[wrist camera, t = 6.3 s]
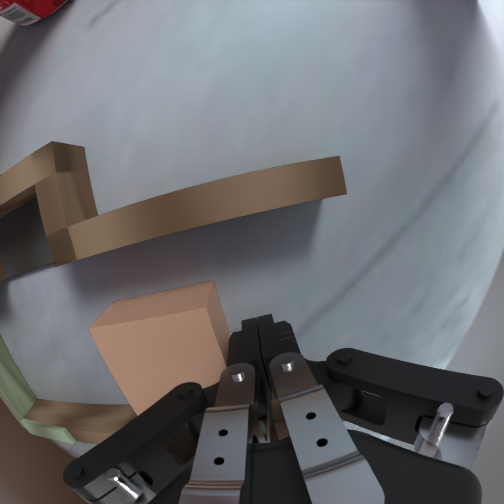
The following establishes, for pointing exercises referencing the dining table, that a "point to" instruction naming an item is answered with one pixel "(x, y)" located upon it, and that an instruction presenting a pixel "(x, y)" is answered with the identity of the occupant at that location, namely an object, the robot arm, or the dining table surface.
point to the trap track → (115, 236)
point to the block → (163, 341)
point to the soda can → (28, 10)
